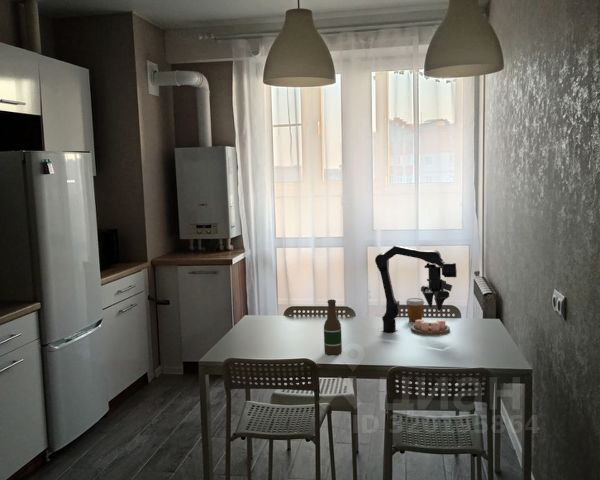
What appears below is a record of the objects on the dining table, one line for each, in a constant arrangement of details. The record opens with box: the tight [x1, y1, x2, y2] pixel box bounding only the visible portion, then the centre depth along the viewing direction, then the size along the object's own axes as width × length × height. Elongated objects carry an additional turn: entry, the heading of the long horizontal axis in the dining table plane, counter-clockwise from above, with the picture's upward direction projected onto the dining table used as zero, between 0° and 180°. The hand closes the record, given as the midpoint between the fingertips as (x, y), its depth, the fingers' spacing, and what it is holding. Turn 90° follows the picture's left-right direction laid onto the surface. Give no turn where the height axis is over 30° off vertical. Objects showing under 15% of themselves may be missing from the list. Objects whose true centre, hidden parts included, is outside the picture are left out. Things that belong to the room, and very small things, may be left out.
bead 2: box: [436, 319, 446, 331], centre depth 295 cm, size 4×4×5 cm
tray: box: [410, 322, 451, 337], centre depth 297 cm, size 18×18×2 cm
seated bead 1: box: [414, 319, 425, 331], centre depth 298 cm, size 4×4×5 cm
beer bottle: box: [323, 298, 343, 356], centre depth 266 cm, size 8×8×24 cm
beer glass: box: [405, 297, 425, 323], centre depth 317 cm, size 10×10×12 cm
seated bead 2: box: [421, 321, 430, 331], centre depth 293 cm, size 4×4×5 cm
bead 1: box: [430, 321, 440, 332], centre depth 292 cm, size 4×4×5 cm
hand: (434, 309), depth 291 cm, fingers open, 9 cm apart
